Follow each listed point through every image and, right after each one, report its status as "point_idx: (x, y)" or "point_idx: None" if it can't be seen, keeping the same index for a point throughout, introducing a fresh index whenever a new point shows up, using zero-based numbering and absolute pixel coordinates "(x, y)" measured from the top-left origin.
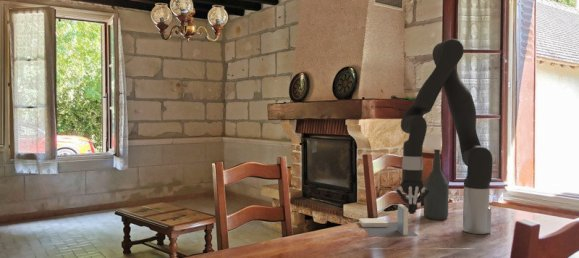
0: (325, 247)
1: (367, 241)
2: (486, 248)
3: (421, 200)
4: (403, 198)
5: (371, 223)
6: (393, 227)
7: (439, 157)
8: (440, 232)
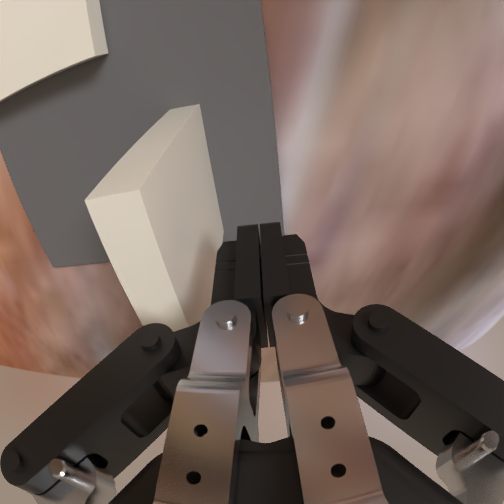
0: (7, 346)
1: (64, 308)
2: (458, 330)
3: (387, 378)
4: (146, 417)
5: (5, 97)
6: (146, 47)
7: None
8: (446, 131)
